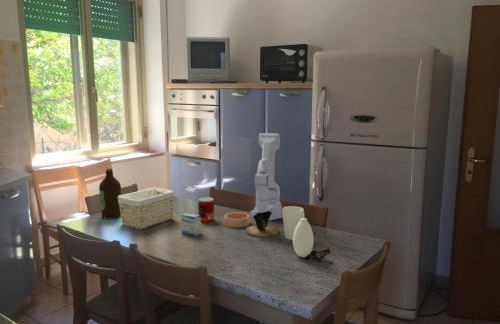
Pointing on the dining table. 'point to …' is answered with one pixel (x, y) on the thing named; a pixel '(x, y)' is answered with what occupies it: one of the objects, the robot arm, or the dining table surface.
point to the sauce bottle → (303, 238)
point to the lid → (262, 230)
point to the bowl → (237, 219)
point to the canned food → (206, 209)
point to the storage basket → (146, 207)
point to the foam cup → (291, 219)
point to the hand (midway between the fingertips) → (262, 227)
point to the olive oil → (110, 195)
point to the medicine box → (191, 224)
